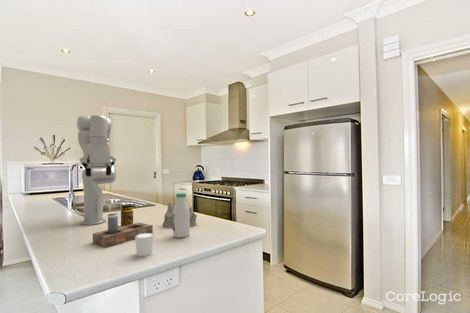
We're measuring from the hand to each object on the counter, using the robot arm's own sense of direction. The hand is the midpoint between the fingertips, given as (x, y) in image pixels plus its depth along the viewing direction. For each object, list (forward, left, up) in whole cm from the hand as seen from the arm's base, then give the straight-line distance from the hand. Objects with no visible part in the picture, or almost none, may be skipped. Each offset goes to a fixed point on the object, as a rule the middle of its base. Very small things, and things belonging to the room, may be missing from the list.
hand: (98, 175), depth 125 cm
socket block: (+16, +3, -28) cm, 33 cm away
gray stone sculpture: (+21, +33, -29) cm, 49 cm away
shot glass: (+41, -4, -28) cm, 50 cm away
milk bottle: (+36, +20, -28) cm, 50 cm away
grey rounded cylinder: (+16, -2, -28) cm, 33 cm away
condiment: (0, +14, -29) cm, 32 cm away
